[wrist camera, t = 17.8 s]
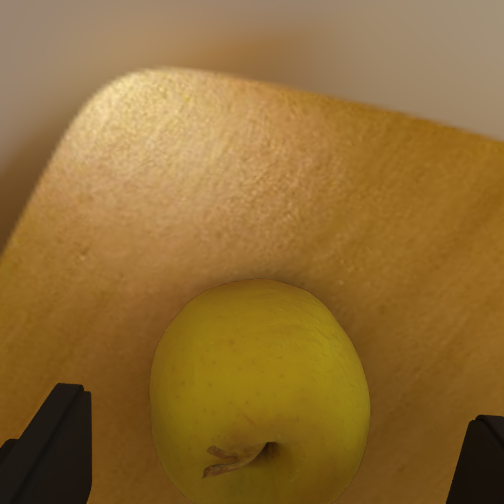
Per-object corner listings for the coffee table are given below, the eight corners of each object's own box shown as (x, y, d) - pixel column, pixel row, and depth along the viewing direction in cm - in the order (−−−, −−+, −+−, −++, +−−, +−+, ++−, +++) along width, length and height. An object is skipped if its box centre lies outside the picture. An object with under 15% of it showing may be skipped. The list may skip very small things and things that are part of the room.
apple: (147, 269, 16) (69, 406, 9) (319, 230, 16) (391, 336, 9) (192, 413, 18) (160, 628, 11) (347, 380, 18) (427, 576, 11)
